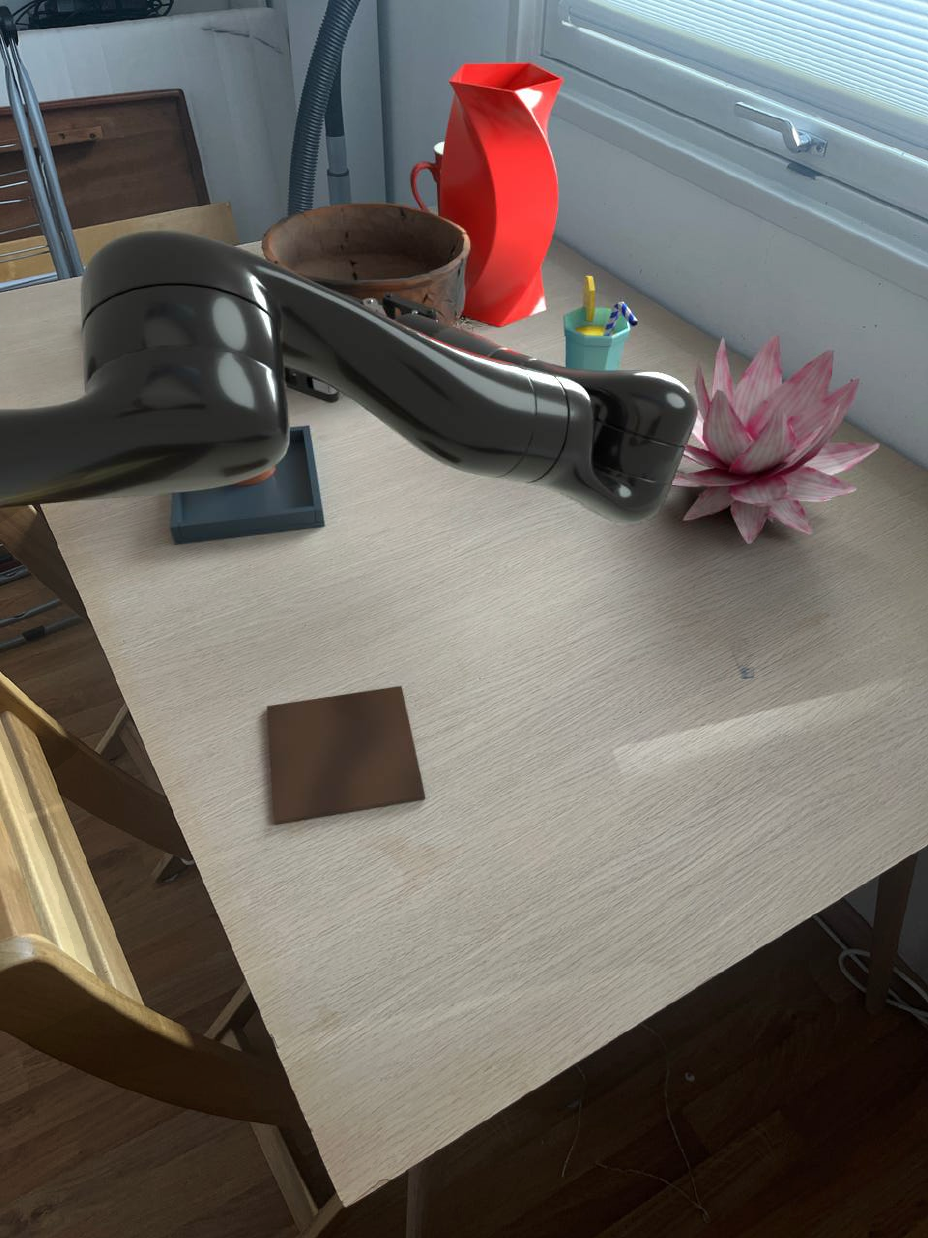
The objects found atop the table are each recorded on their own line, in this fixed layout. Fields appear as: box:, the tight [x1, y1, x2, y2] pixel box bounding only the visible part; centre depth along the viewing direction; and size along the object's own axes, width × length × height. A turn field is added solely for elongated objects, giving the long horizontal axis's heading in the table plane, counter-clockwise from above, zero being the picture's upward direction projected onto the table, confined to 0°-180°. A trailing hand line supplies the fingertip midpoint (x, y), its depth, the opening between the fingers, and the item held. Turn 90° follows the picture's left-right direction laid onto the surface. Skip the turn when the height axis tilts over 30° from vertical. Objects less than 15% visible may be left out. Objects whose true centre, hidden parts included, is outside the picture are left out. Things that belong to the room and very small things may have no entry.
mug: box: [409, 140, 445, 216], centre depth 135 cm, size 13×9×14 cm
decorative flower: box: [671, 333, 880, 544], centre depth 86 cm, size 21×21×15 cm
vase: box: [440, 62, 564, 328], centre depth 114 cm, size 15×14×28 cm
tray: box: [169, 424, 326, 545], centre depth 91 cm, size 15×16×2 cm
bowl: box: [260, 202, 470, 327], centre depth 107 cm, size 25×25×15 cm
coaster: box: [266, 685, 426, 825], centre depth 68 cm, size 11×11×1 cm
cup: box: [562, 275, 639, 370], centre depth 98 cm, size 14×8×15 cm, turn 20°
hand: (295, 320), depth 75 cm, fingers open, 8 cm apart
